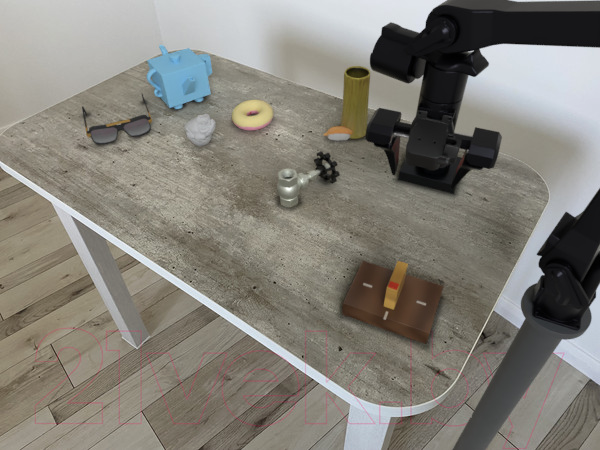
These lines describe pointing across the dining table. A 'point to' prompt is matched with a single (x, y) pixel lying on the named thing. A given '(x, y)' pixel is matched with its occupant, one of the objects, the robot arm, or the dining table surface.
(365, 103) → the vase
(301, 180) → the valve
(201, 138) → the grey lumpy blob
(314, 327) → the dining table surface
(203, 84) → the teapot
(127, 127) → the sunglasses
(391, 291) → the lock knob
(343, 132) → the sushi
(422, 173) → the button box
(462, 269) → the dining table surface
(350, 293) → the panel
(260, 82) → the dining table surface
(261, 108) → the donut
